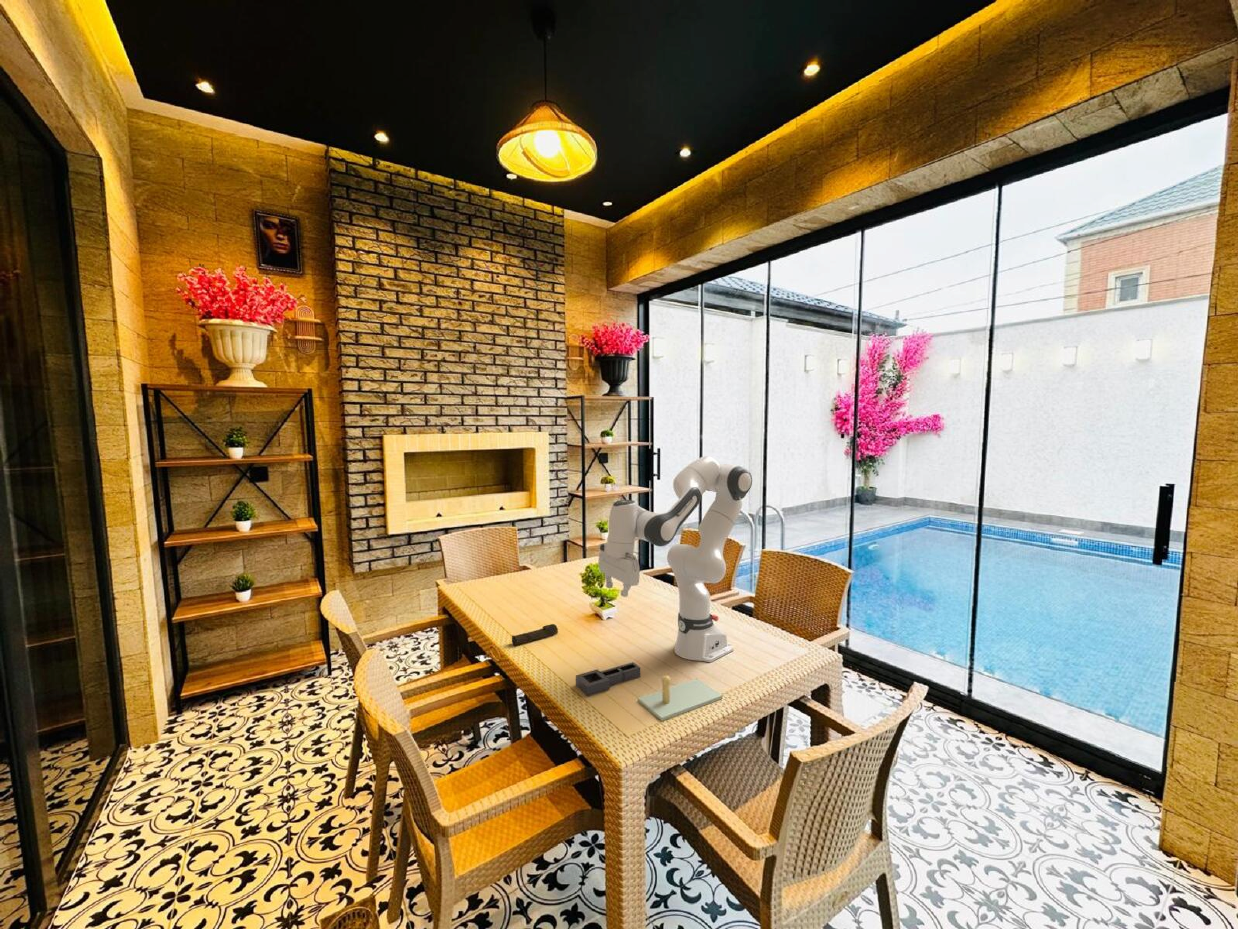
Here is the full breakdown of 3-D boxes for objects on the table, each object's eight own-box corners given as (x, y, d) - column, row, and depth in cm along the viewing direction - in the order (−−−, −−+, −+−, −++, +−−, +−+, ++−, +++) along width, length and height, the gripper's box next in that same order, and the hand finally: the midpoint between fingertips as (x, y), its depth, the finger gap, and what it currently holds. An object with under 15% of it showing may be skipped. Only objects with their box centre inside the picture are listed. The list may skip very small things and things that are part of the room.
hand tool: (515, 648, 186) (515, 636, 186) (511, 644, 189) (511, 632, 189) (560, 637, 196) (560, 625, 196) (556, 633, 200) (556, 622, 199)
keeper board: (696, 681, 162) (697, 655, 162) (722, 698, 152) (723, 670, 151) (638, 701, 150) (638, 672, 150) (661, 721, 140) (662, 690, 139)
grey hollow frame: (587, 696, 153) (587, 686, 152) (575, 685, 159) (575, 675, 159) (643, 679, 163) (643, 669, 163) (630, 669, 170) (630, 660, 170)
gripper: (646, 556, 154) (642, 600, 155) (612, 543, 172) (609, 582, 172) (629, 557, 151) (625, 602, 151) (596, 543, 168) (593, 584, 169)
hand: (616, 591), depth 162 cm, fingers open, 8 cm apart
